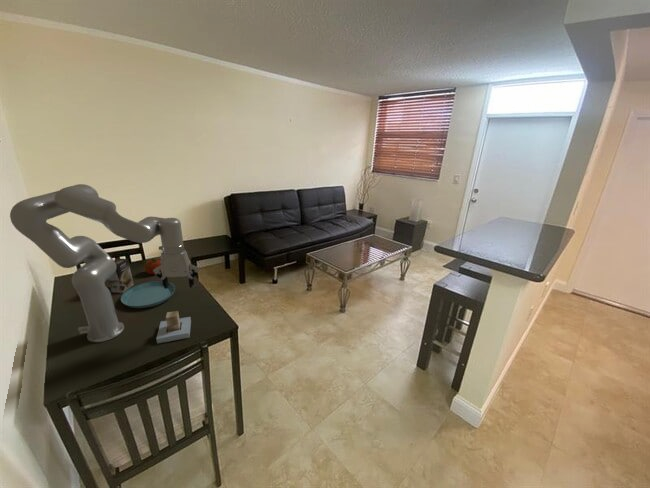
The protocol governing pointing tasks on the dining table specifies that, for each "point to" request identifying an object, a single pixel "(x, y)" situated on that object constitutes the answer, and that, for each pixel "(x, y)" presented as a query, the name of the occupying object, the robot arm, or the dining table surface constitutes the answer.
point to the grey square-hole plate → (174, 335)
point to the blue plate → (147, 294)
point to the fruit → (152, 266)
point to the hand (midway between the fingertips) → (179, 286)
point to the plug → (173, 321)
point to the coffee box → (121, 277)
